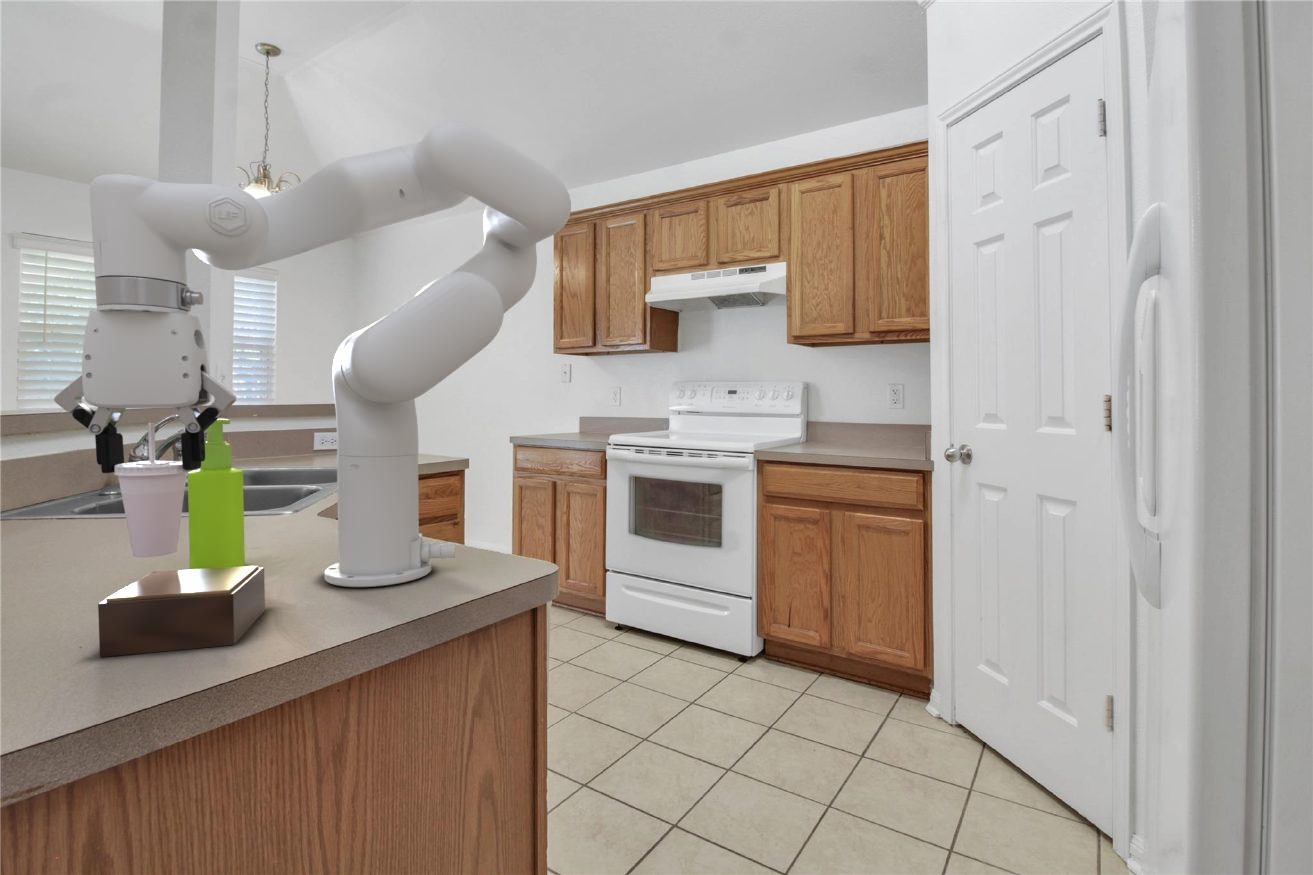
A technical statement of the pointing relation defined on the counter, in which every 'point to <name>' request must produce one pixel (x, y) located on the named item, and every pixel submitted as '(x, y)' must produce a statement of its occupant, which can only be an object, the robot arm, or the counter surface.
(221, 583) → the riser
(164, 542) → the smoothie
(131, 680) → the counter surface
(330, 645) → the counter surface
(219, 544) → the soap dispenser
